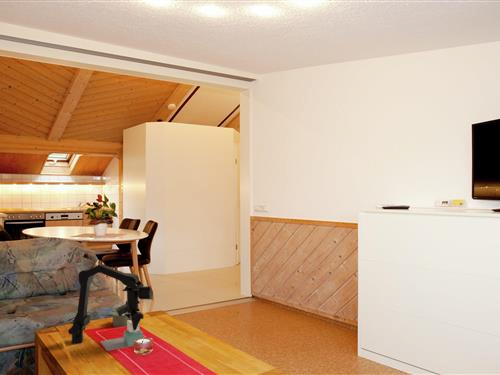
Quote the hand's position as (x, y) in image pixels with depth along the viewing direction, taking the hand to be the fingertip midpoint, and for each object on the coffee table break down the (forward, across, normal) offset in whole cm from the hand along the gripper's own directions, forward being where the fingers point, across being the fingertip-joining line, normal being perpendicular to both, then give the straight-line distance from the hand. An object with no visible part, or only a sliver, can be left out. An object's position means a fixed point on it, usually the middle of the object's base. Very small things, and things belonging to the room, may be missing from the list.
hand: (133, 328), depth 233 cm
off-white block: (+1, 0, 0) cm, 1 cm away
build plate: (+8, -4, -5) cm, 10 cm away
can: (+9, -39, +4) cm, 40 cm away
